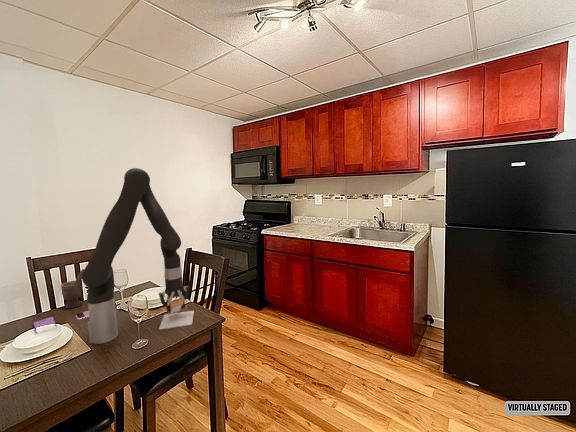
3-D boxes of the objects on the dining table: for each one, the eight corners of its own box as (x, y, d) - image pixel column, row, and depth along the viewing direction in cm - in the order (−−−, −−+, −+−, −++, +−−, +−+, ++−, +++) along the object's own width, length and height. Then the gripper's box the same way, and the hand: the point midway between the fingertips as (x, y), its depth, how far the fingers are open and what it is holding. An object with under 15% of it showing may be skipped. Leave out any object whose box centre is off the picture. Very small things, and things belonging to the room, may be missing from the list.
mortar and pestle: (88, 299, 155) (84, 266, 153) (92, 303, 149) (87, 269, 147) (62, 306, 146) (58, 271, 144) (65, 311, 141) (60, 274, 138)
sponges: (53, 320, 133) (52, 316, 133) (57, 328, 124) (56, 325, 124) (33, 325, 128) (33, 322, 127) (36, 335, 119) (35, 331, 119)
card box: (166, 310, 131) (170, 301, 125) (178, 306, 135) (181, 298, 129) (168, 315, 130) (171, 307, 124) (179, 311, 133) (183, 303, 128)
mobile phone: (74, 313, 136) (109, 303, 147) (75, 315, 136) (109, 305, 147) (77, 318, 131) (113, 308, 142) (78, 320, 131) (113, 309, 142)
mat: (158, 329, 120) (158, 329, 120) (164, 315, 133) (164, 314, 133) (191, 324, 124) (191, 324, 124) (194, 311, 137) (194, 310, 137)
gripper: (159, 282, 119) (162, 318, 121) (191, 274, 129) (193, 308, 131) (154, 277, 125) (157, 312, 127) (185, 270, 134) (188, 303, 136)
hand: (176, 310), depth 129 cm, fingers closed on card box, 5 cm apart
